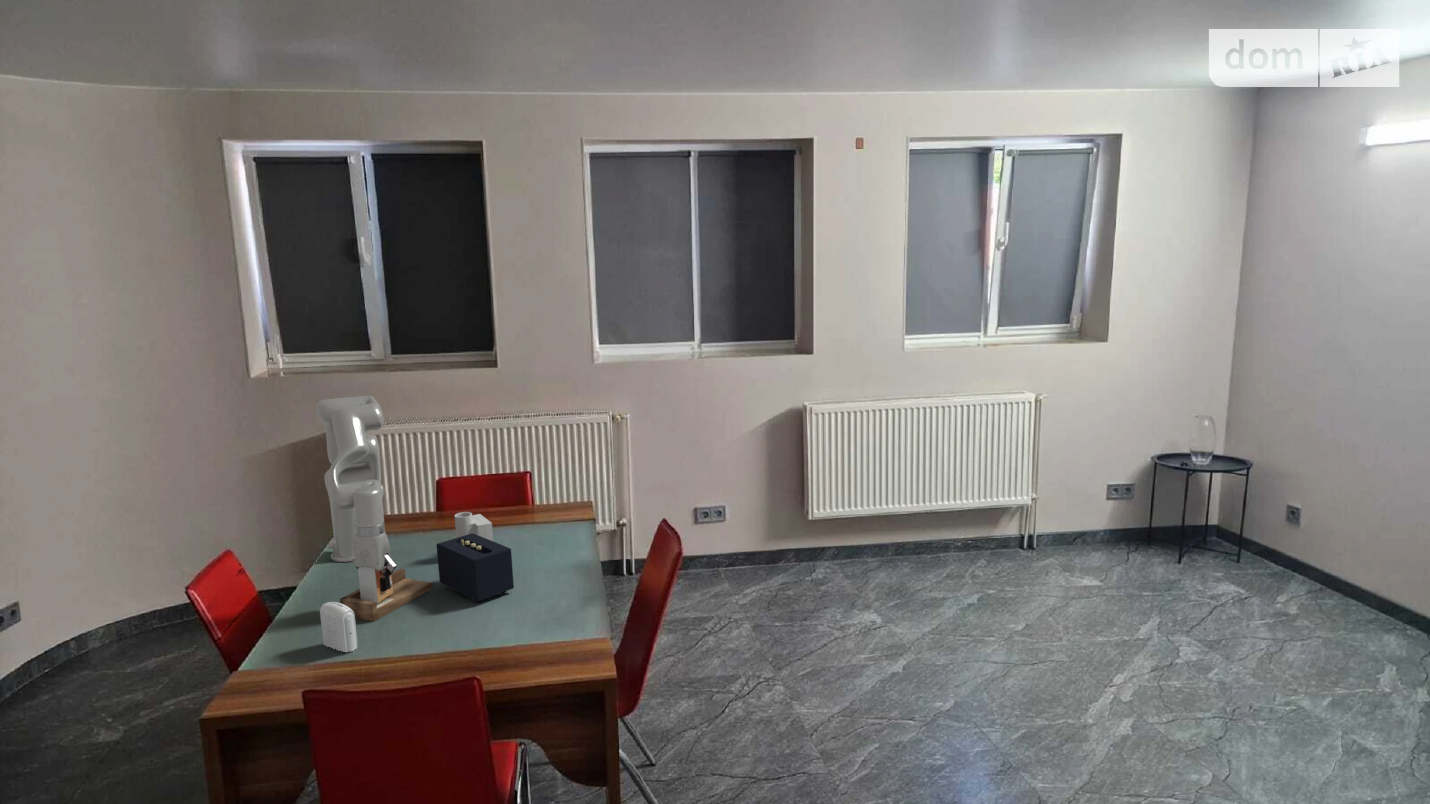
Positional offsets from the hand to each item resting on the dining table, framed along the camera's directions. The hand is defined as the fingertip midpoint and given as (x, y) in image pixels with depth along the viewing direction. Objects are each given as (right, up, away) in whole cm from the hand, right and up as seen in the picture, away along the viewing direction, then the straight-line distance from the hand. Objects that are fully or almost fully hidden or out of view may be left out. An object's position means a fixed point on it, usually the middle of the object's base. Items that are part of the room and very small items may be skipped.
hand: (376, 587), depth 241 cm
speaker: (+26, -4, +12) cm, 29 cm away
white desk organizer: (+15, +1, +40) cm, 42 cm away
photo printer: (0, -11, -23) cm, 26 cm away
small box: (0, -3, +1) cm, 3 cm away
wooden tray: (+2, -5, +5) cm, 7 cm away
